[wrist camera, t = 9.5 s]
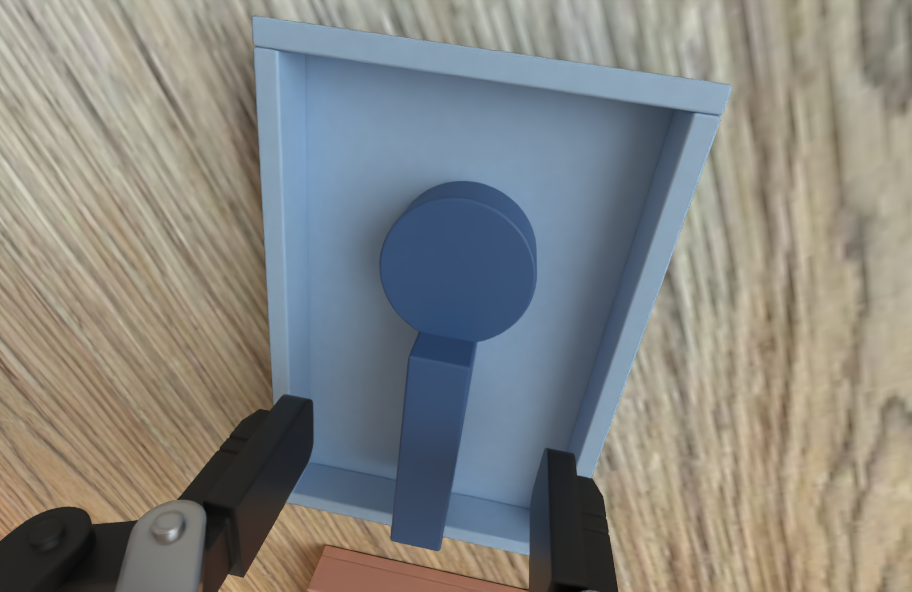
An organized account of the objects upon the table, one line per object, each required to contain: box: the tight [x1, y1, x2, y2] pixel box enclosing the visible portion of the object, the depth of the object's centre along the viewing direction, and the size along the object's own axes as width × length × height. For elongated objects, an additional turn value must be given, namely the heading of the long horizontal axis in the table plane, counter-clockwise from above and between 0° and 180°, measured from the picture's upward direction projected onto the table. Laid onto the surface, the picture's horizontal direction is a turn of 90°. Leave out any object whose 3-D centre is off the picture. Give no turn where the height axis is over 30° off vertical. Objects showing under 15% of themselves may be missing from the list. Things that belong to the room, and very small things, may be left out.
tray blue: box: [252, 16, 732, 556], centre depth 14 cm, size 15×10×2 cm
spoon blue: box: [379, 181, 537, 551], centre depth 14 cm, size 11×4×3 cm, turn 173°
